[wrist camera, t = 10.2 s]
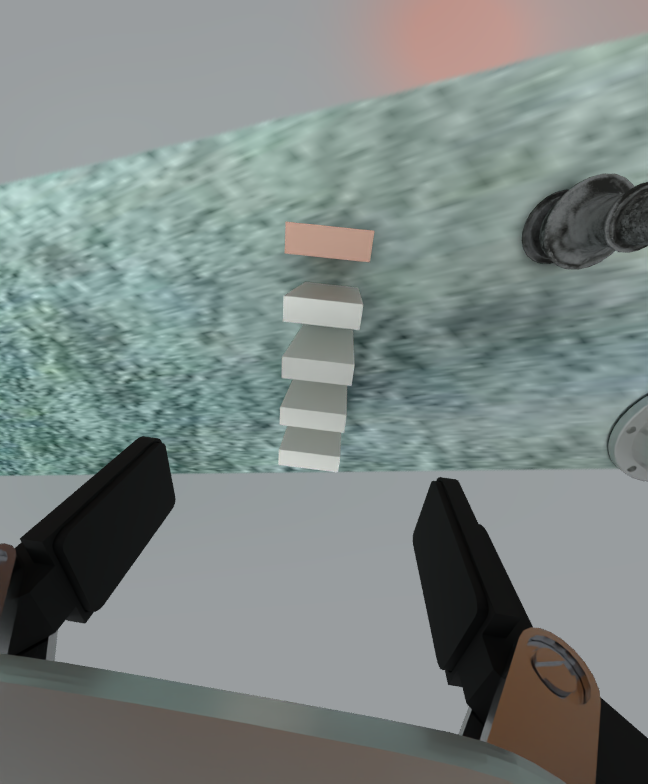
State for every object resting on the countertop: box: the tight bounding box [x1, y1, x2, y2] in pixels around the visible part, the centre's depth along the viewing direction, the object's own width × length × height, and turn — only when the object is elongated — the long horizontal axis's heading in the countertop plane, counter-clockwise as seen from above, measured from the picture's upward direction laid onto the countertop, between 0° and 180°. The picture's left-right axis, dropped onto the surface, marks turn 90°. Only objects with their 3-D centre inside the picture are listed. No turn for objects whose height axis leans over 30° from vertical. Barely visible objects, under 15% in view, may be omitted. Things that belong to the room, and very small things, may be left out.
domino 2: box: [282, 324, 355, 386], centre depth 24 cm, size 5×2×10 cm, turn 85°
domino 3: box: [280, 379, 347, 433], centre depth 26 cm, size 5×2×10 cm, turn 85°
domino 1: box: [283, 282, 363, 330], centre depth 22 cm, size 5×2×10 cm, turn 84°
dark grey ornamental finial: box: [522, 174, 648, 269], centre depth 18 cm, size 6×6×12 cm
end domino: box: [285, 222, 374, 262], centre depth 21 cm, size 5×2×10 cm, turn 85°
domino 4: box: [279, 426, 341, 472], centre depth 28 cm, size 5×2×10 cm, turn 84°
